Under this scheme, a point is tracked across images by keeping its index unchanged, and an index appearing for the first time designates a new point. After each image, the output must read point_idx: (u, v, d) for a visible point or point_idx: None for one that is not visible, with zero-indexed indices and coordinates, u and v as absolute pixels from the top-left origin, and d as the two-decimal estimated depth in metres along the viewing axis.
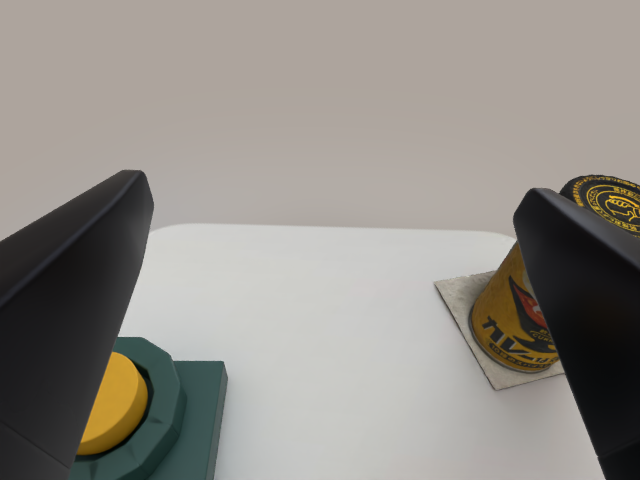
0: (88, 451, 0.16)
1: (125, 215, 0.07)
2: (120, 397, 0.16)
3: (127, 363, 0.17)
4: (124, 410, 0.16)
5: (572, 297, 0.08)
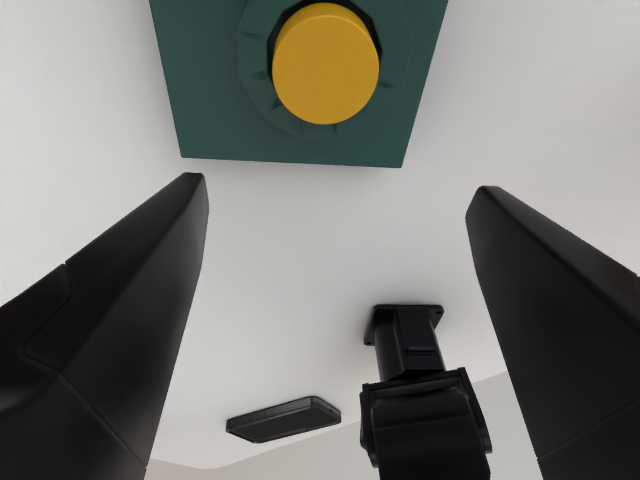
0: None
1: (192, 217, 0.07)
2: (361, 83, 0.14)
3: (363, 38, 0.13)
4: (367, 96, 0.15)
5: (513, 296, 0.07)
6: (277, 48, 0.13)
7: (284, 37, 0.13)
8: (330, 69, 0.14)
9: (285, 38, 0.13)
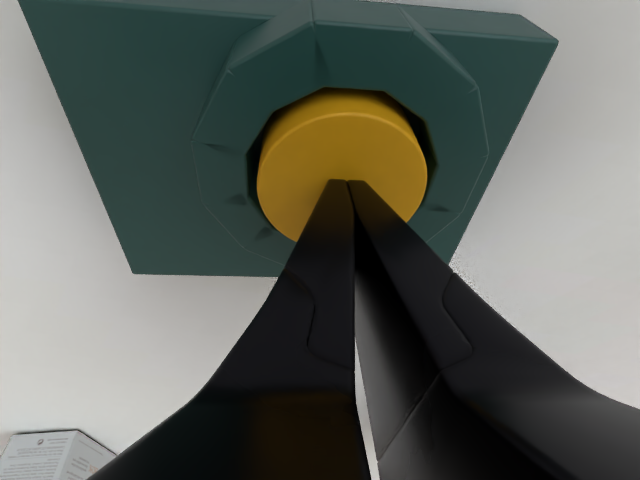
0: None
1: None
2: (398, 202, 0.09)
3: (407, 145, 0.08)
4: (405, 217, 0.09)
5: (360, 293, 0.07)
6: (264, 158, 0.08)
7: (275, 144, 0.08)
8: None
9: (278, 146, 0.08)
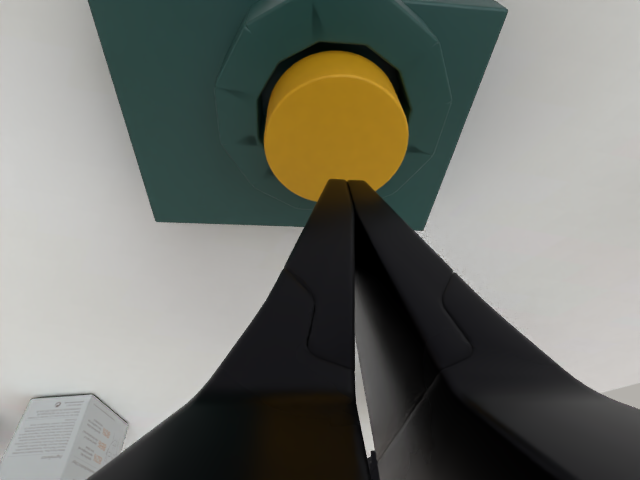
0: None
1: None
2: (384, 157, 0.11)
3: (390, 104, 0.09)
4: (391, 171, 0.11)
5: (360, 293, 0.07)
6: (270, 116, 0.10)
7: (280, 103, 0.09)
8: (343, 141, 0.10)
9: (282, 105, 0.09)
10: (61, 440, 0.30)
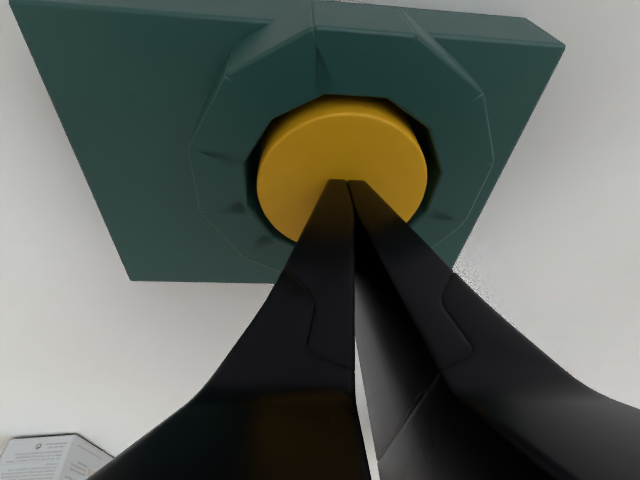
0: None
1: None
2: (398, 202, 0.09)
3: (407, 145, 0.08)
4: (405, 217, 0.09)
5: (360, 293, 0.07)
6: (264, 158, 0.08)
7: (275, 144, 0.08)
8: None
9: (278, 146, 0.08)
10: None
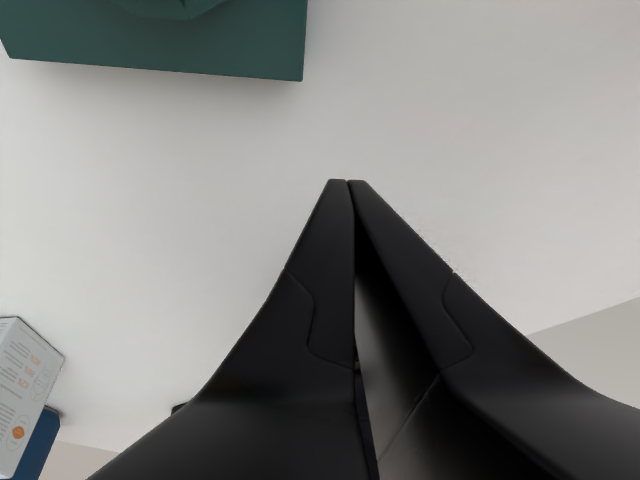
0: None
1: None
2: None
3: None
4: None
5: (360, 293, 0.07)
6: None
7: None
8: None
9: None
10: None
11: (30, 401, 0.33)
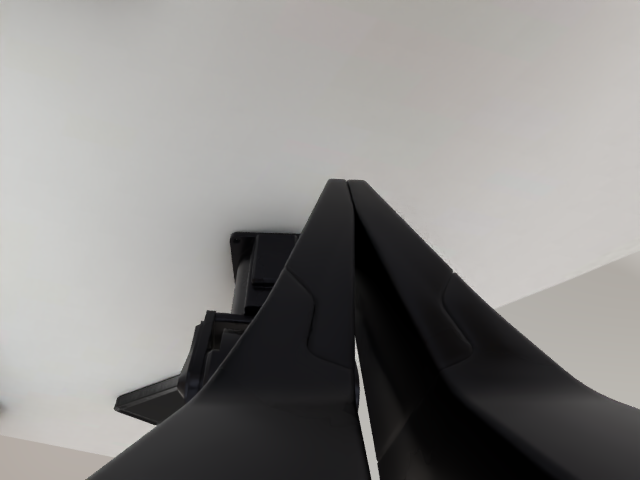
0: None
1: None
2: None
3: None
4: None
5: (360, 293, 0.07)
6: None
7: None
8: None
9: None
10: None
11: None
